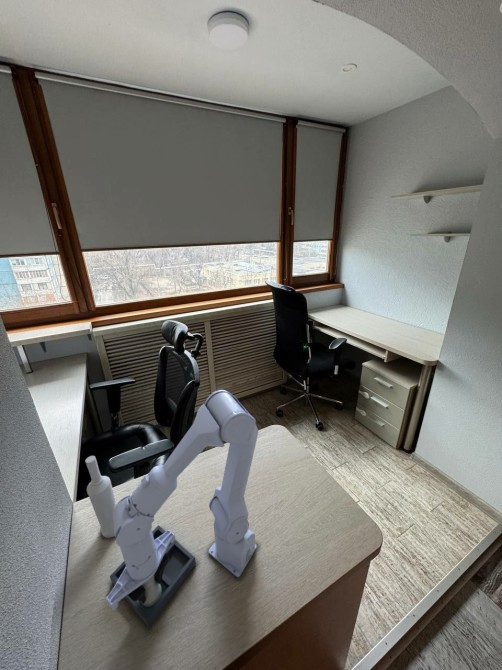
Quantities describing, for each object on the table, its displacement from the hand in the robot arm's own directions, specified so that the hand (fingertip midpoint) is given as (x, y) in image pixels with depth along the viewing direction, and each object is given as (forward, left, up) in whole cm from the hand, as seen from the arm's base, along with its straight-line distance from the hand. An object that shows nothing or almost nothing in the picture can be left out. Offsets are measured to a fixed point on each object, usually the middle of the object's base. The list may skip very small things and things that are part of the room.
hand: (149, 588), depth 58 cm
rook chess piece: (0, 0, -3) cm, 3 cm away
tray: (+3, -3, -3) cm, 5 cm away
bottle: (+21, -3, -3) cm, 22 cm away
